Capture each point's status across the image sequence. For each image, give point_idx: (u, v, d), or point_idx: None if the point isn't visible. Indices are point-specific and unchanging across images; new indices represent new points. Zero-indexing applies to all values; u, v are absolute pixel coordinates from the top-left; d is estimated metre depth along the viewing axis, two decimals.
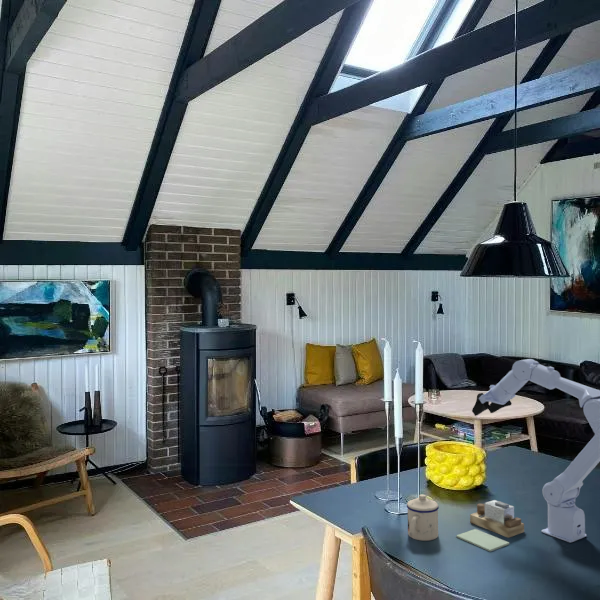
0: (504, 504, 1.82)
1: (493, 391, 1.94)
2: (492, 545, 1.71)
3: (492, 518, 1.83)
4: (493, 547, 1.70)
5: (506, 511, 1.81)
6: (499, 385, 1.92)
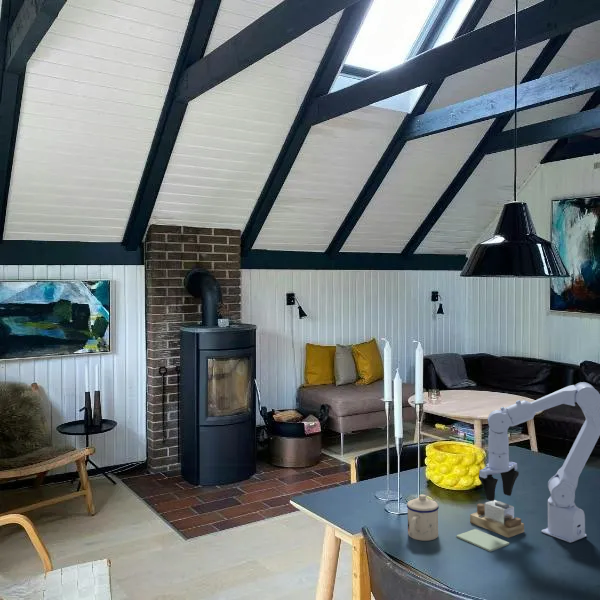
0: (504, 504, 1.82)
1: (489, 464, 1.83)
2: (492, 545, 1.71)
3: (492, 518, 1.83)
4: (493, 547, 1.70)
5: (506, 511, 1.81)
6: (489, 453, 1.83)
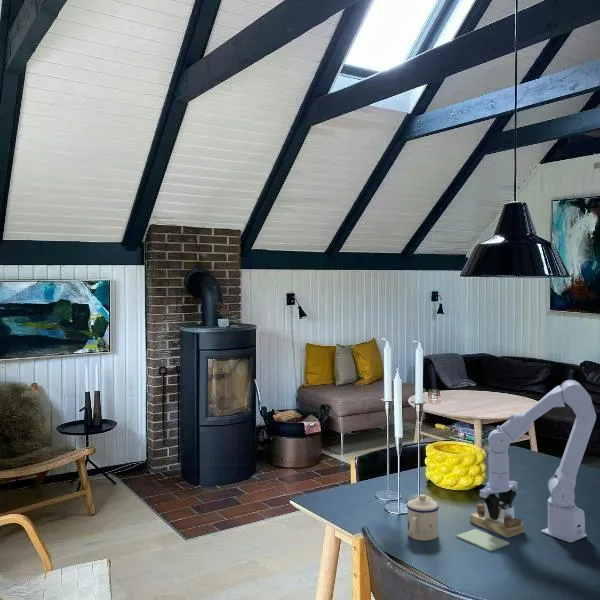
0: (504, 504, 1.82)
1: (490, 483, 1.83)
2: (492, 545, 1.71)
3: None
4: (493, 547, 1.70)
5: (506, 511, 1.81)
6: (489, 473, 1.83)
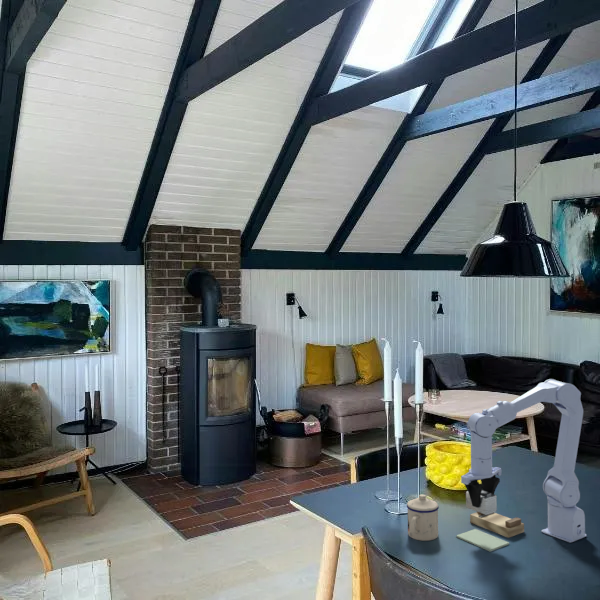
0: (486, 493, 1.74)
1: (472, 469, 1.75)
2: (492, 545, 1.71)
3: (474, 507, 1.75)
4: (493, 547, 1.70)
5: (488, 499, 1.72)
6: (472, 458, 1.75)
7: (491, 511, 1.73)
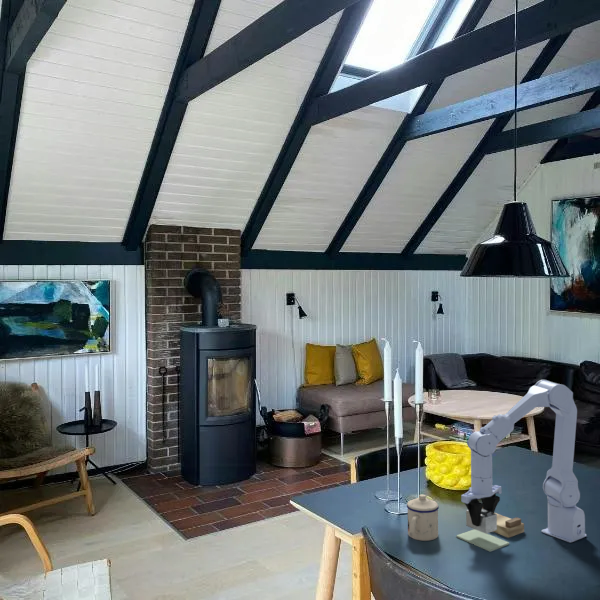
0: (486, 511, 1.74)
1: (472, 488, 1.75)
2: (492, 545, 1.71)
3: (474, 526, 1.75)
4: (493, 547, 1.70)
5: (488, 518, 1.72)
6: (472, 477, 1.75)
7: (491, 530, 1.73)
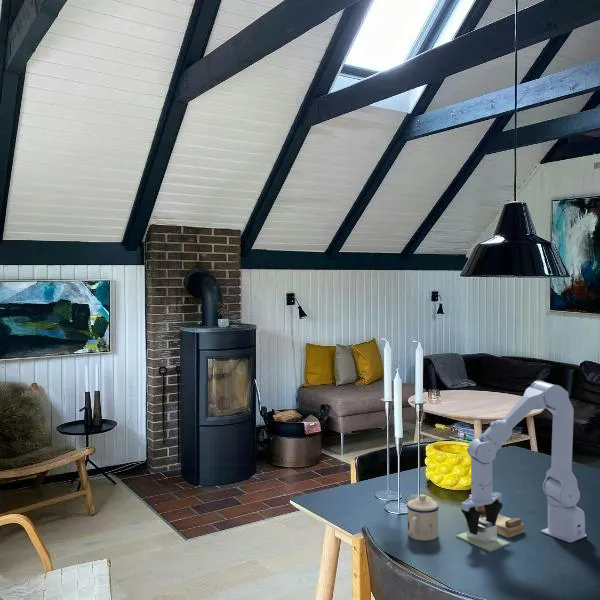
0: (486, 522, 1.74)
1: (472, 495, 1.75)
2: (492, 545, 1.71)
3: (474, 537, 1.75)
4: (493, 547, 1.70)
5: (488, 529, 1.72)
6: (472, 484, 1.75)
7: (491, 541, 1.73)
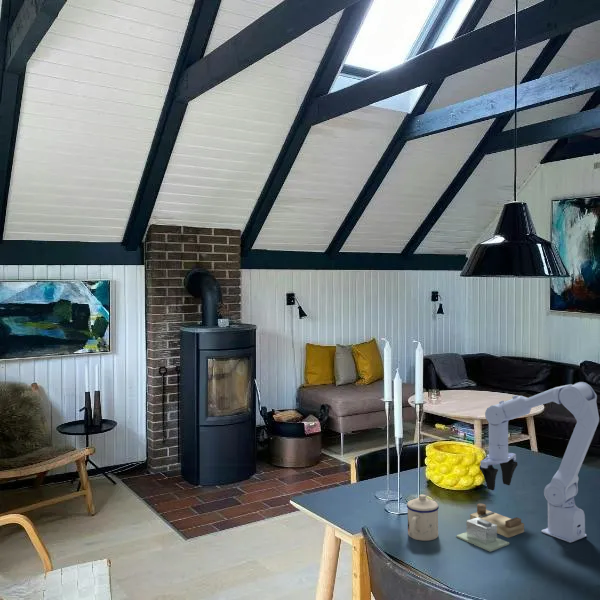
0: (486, 522, 1.74)
1: (490, 455, 1.92)
2: (492, 545, 1.71)
3: (474, 537, 1.75)
4: (493, 547, 1.70)
5: (488, 529, 1.72)
6: (489, 445, 1.92)
7: (491, 541, 1.73)
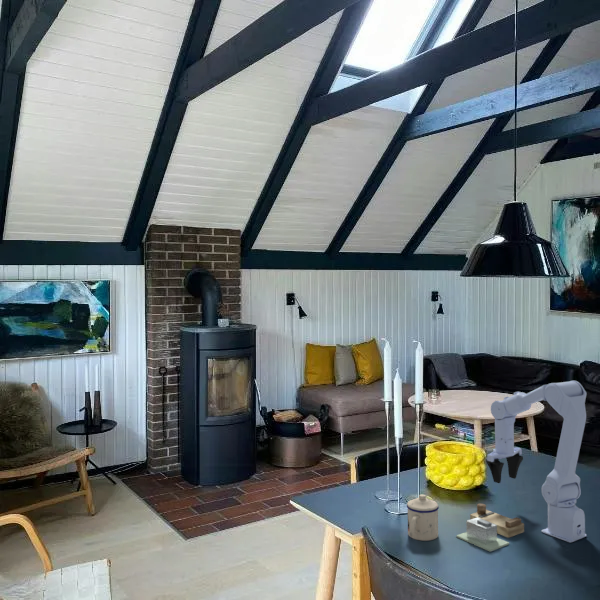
0: (486, 522, 1.74)
1: (496, 449, 1.98)
2: (492, 545, 1.71)
3: (474, 537, 1.75)
4: (493, 547, 1.70)
5: (488, 529, 1.72)
6: (496, 439, 1.98)
7: (491, 541, 1.73)
